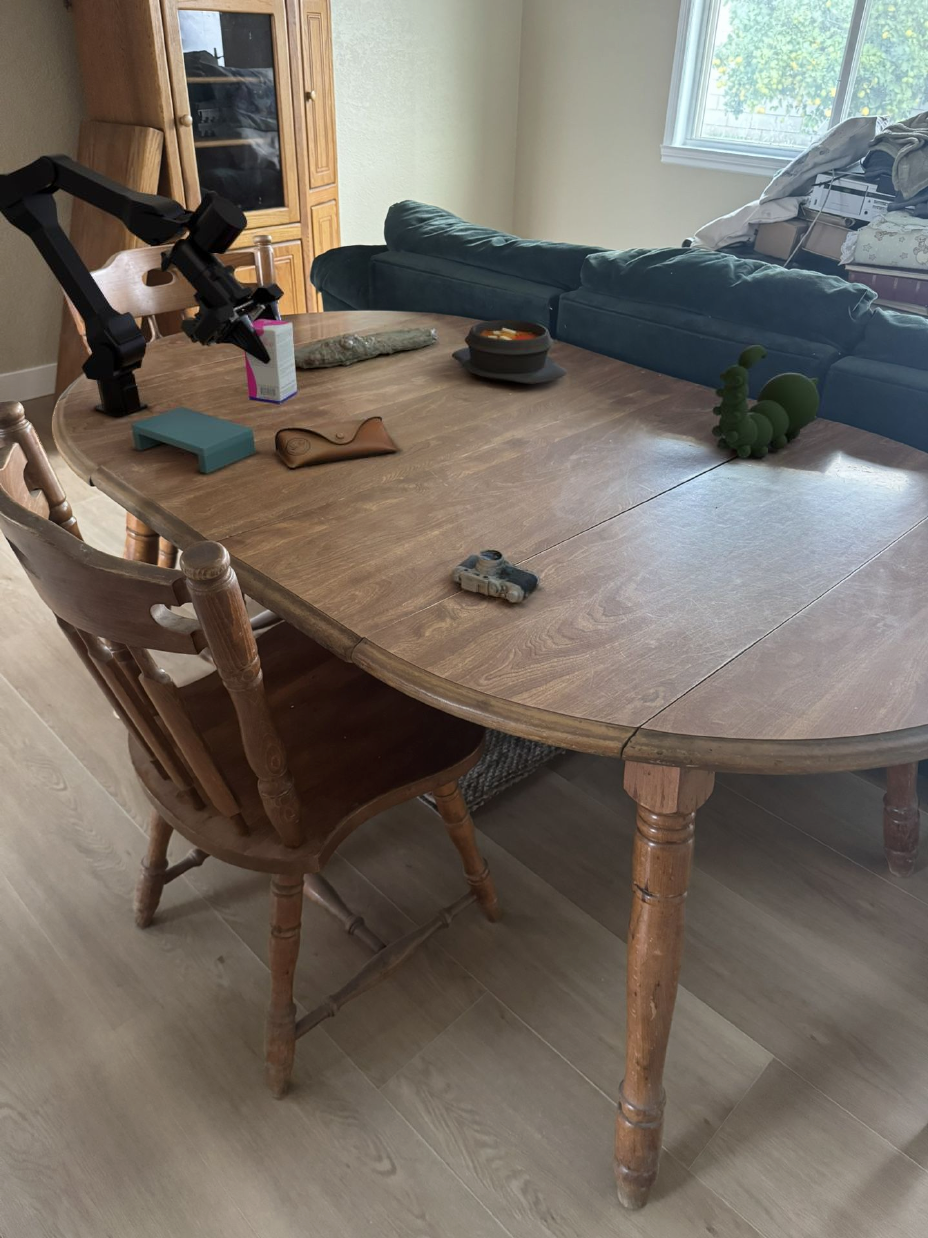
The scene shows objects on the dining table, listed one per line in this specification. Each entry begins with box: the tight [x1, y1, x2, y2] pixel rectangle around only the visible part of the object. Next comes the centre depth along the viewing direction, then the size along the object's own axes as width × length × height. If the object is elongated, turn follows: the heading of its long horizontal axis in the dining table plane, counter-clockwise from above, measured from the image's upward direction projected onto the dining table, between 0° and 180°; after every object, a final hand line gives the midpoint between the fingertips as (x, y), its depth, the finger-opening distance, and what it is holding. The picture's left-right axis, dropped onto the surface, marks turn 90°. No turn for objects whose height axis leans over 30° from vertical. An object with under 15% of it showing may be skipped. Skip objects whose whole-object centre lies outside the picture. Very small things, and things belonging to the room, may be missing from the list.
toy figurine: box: [711, 344, 820, 459], centre depth 143 cm, size 9×19×25 cm
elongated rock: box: [294, 327, 438, 369], centre depth 184 cm, size 35×5×10 cm
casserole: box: [451, 319, 568, 385], centre depth 175 cm, size 25×19×8 cm
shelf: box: [130, 406, 256, 475], centre depth 140 cm, size 16×10×4 cm, turn 56°
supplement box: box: [244, 319, 298, 405], centre depth 142 cm, size 6×6×12 cm
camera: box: [451, 549, 541, 603], centre depth 107 cm, size 5×10×4 cm, turn 57°
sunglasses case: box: [274, 415, 399, 469], centre depth 141 cm, size 18×7×7 cm, turn 116°
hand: (278, 356), depth 141 cm, fingers closed on supplement box, 6 cm apart
